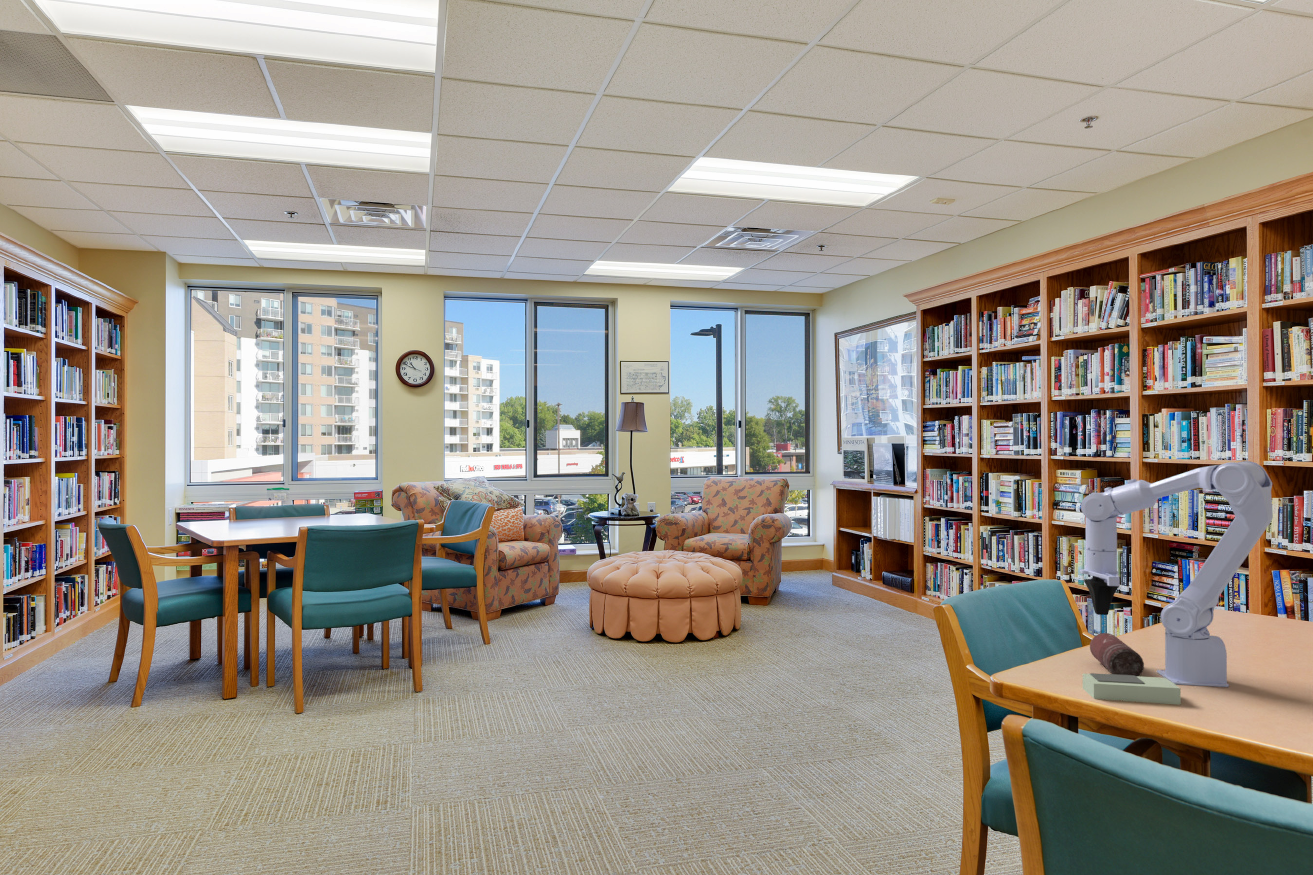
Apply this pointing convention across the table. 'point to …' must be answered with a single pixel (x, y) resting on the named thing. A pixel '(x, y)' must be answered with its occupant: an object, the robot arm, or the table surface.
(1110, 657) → the can
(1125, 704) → the table surface
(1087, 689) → the pale green slab
